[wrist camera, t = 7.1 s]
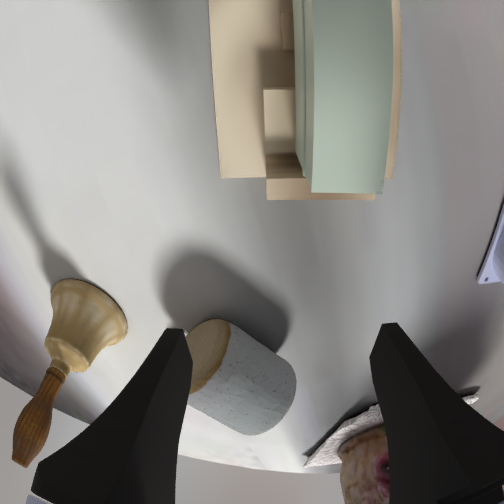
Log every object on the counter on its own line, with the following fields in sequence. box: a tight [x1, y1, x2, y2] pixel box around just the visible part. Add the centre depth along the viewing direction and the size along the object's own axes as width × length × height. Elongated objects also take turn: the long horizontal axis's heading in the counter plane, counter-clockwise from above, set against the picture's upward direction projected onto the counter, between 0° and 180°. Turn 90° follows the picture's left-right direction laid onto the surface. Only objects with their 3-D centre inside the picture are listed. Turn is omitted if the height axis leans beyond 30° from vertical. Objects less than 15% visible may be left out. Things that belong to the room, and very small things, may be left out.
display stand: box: [209, 0, 402, 200], centre depth 11 cm, size 10×16×4 cm, turn 3°
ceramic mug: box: [185, 319, 296, 435], centre depth 23 cm, size 11×8×8 cm
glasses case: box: [293, 0, 393, 194], centre depth 8 cm, size 2×12×5 cm, turn 2°
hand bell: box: [12, 279, 128, 468], centre depth 18 cm, size 8×8×16 cm
